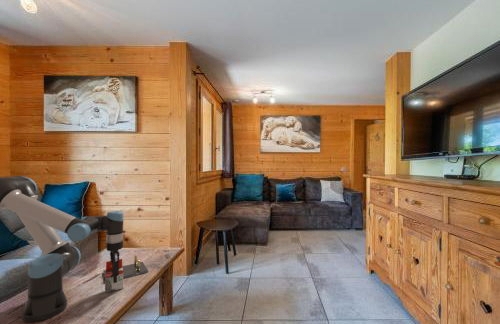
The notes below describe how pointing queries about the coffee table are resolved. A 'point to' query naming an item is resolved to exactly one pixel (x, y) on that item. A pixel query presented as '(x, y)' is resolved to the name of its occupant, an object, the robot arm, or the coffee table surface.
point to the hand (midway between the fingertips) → (114, 286)
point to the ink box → (109, 279)
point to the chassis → (133, 269)
